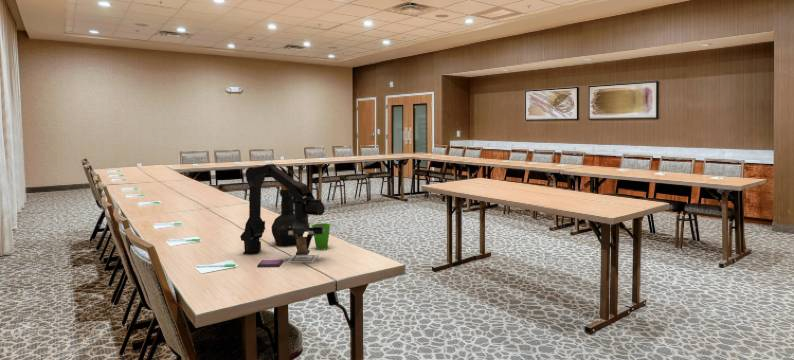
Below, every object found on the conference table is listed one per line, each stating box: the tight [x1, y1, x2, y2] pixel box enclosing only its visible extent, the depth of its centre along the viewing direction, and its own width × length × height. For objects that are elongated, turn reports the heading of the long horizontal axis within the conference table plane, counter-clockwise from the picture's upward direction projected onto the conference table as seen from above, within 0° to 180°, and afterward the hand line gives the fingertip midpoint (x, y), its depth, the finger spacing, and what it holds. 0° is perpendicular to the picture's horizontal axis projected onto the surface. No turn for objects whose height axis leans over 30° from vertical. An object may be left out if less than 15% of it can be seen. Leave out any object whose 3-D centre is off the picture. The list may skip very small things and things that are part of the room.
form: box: [286, 254, 320, 264], centre depth 211 cm, size 12×11×1 cm
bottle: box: [271, 183, 304, 247], centre depth 237 cm, size 16×16×30 cm
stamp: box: [295, 236, 311, 255], centre depth 210 cm, size 5×5×7 cm
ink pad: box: [257, 259, 284, 268], centre depth 203 cm, size 9×7×1 cm
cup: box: [310, 222, 331, 250], centre depth 228 cm, size 9×9×11 cm
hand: (302, 249), depth 211 cm, fingers closed on stamp, 4 cm apart
